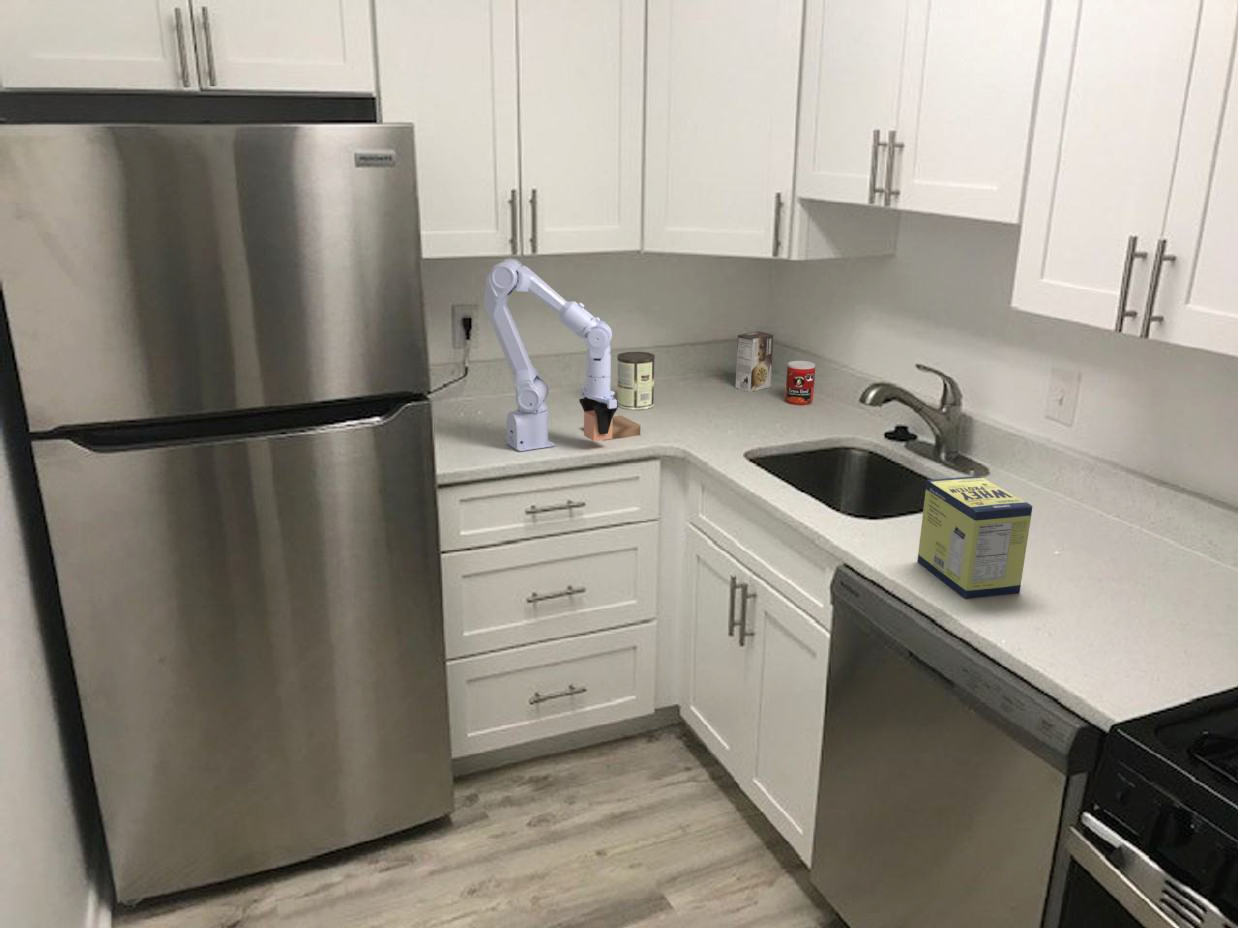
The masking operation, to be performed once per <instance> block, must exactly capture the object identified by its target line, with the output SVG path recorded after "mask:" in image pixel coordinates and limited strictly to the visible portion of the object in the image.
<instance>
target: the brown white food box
mask: <svg viewBox="0 0 1238 928" xmlns="http://www.w3.org/2000/svg"><path fill="white" fill-rule="evenodd" d="M773 346H774V334H772V333H768V332H765V331H760V330H759V331H758V330H757V331H753V332H752V331H751V332H747V333H742V334H738V335H737V348H736V367H735V368H736V369H735V370H736V371H735V372H736V373H735V389H737V388H738V390H742V391H745V392H748V393H752V392H756V391H761V390H764V389H768V388H771V384H772V369H773V368H772V366H773V365H772V364H773Z"/></svg>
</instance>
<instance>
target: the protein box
mask: <svg viewBox="0 0 1238 928" xmlns="http://www.w3.org/2000/svg"><path fill="white" fill-rule="evenodd" d="M922 509H923V510H922V518H921V528H920V536H919V544H918V551H917V561H918V562H917V561H916V562H917V563H919V565H920V566H922V567H924V568H925V569H926V568H927V569H926V570H927V571H929V572H930V573H932V574H933V575H934V576H935V577H936V578H938V579H939V580H941V581H942V582H943V583H944V584H946V586H948V587H949V588H950V589H952V590H953V591H954V590H955V591H954V592H956V594H960V595H959V596H961V597H962V598H963V599H972V598H973V599H974V598H980V597H981V598H982V597H992V596H1001V595H1008V594H1018V593H1020V592H1021V586H1022V581H1023V580H1022V578H1023V572H1024V566H1025V559H1026V552H1027V546H1028V538H1029V534H1030V533H1029V532H1030V525H1031V520H1032V512H1033V505H1032V504H1030V503H1028V502H1027V501H1025V500H1023V499H1021V498H1020V497H1018V496H1015V494H1012V493H1010V492H1009V491H1006V490H1005V489H1003V488H1001V487H1000V486H997V485H996V484H995V483H992V482H991V481H988V480H987V479H986V478H984V477H982V476H980V475H974V476H973V475H972V476H971V475H970V476H960V477H948V478H937V479H936V478H935V479H934V478H933V479H926V486H925V494H924V500H923V508H922Z"/></svg>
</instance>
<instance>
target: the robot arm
mask: <svg viewBox="0 0 1238 928" xmlns="http://www.w3.org/2000/svg"><path fill="white" fill-rule="evenodd" d="M485 283H486V284H485V291H484V297H483V306H484V309H485V311H486V314H487V317H488V318H489V322H490V324H491V326H492V329H493V331H494V333H495V336H496V338H497V341H498V343H499V345H500V347H501V350H502V352H503V354H504V356H505V357H504V358H505V359H506V362H507V364H508V366H509V367H508V368H510V369H509V370H510V372H511V373H512V380H513V388H514V390H515V403H516V405H517V407H516V408H517V409H516V410H515V409H514V410H513V411H510V412H508V414H507V416H506V436H507V437H506V439H507V440H506V441H505V443H506V444H507V445H509V446H510V447H512V448H513V449H515V450H516V451H518V452H523V451H524V452H525V451H531V450H538V449H544V448H550V447H555V445H556V444H555V443H554V442H552V441H550V440H549V422H548V421H549V416H548V415H549V414H548V413H549V411H548V409H549V407H548V405H547V404H546V401H545V400H546V398H547V397H548V395H549V386H548V384H547V382H546V381H545V380H544V379H542V378H541V376H540V374H539V372H538V370H537V369H536V368H535V367H534V366H533V364H532V362H531V360H530V356H529V354H528V352H527V350H526V347H525V344H524V342H523V340H522V337H521V335H520V333H519V330H518V328H517V325H516V322H515V320H514V317H513V316H512V312H511V310H510V308H509V306H508V302H509V300H510V299H511V296H512V294H513V291H514V290H515V291H516V292H518V293H519V292H521V293H530V294H532V295H533V296H535V297H536V298H537V299H538V300H540V301H541V302H543V303H544V304H546V305H547V306H548V307H550V308H551V309H552V310H554V311H555V312H556V313H557V314H558V318H559V319H558V320H559V321H560V323H562V324H563V325H564V326H565V327H566V328H567V329H569V330H570V331H572V333H574V334H575V335H577V336H578V338H580V339H584V340H583V341H584V343H585V346H586V347H587V348H586V349H587V350H586V361H585V364H586V365H585V367H586V369H585V371H586V373H585V374H586V376H585V378H586V379H585V381H586V382H585V386H580V395H581V396H584V397H583V398H580V399H578V401H579V402H578V403H580V405H581V407H582V409H583V413H584V412H585V411H592V410H594V411H595V413H596V417H597V423H598V431H599V434H608V431H609V427H610V424H611V420H612V418H613V417H614V416H615V414H616V412H617V411H618V407H619V406H618V405H617V404H618V399H616V398H614V396H615V394H616V393H615V391H613V390H611V385H612V384H611V383H612V381H611V377H612V376H611V375H612V374H611V373H612V371H611V370H612V368H611V367H612V355H611V350H612V349H611V344H610V343H611V341H612V338H613V331H612V329H611V327H610V326H609V324H608V323H607V322H605V321H602V320H601V318H600V317H599V316H597V317H595V316H594V315H593V314H591V313H590V312H589V311H588V310H586V309H585V308H584V307H585V304H584V303H582V302H579V303H578V302H576V300H575V301H574V300H573V301H567V300H566V299H564V297H562V296H561V295H560V294H559V293H558V292H557V291H555V290H554V289H553V288H552V287H551V286H550V285H549V284H548V283H546V282H545V281H544V280H543V279H542V278H541V277H540V276H538V274H536V273H535V272H534V271H533V270H531V268H530V267H527V266H526V265H523V264H522V263H521V262H520V261H519V260H517V259H515V258H511V257H509V258H506V259H504V260H502V261H501V262H499V263H496V264H495V265H494V266H493V267H492V268H491V269H490V271H489V273H488V274H487V276H486V279H485Z"/></svg>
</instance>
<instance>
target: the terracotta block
mask: <svg viewBox="0 0 1238 928" xmlns="http://www.w3.org/2000/svg"><path fill="white" fill-rule="evenodd" d="M612 421H613V418H612V420H611V424H610V427H609V431H608V434H599V431H598V423H597V417H596V413H595V411H594V410H592V411H585V412H584V411H583V435H584V437H586V438H588V439H589V440H591V441H592V442H598V441H605V439H612ZM612 440H613V439H612Z"/></svg>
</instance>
